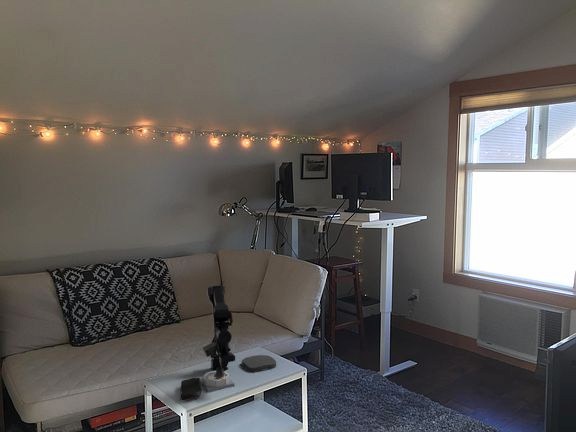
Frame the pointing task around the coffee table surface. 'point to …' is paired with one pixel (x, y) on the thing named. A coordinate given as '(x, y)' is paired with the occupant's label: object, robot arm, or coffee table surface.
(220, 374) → the dial
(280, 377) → the coffee table surface
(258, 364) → the media streaming box
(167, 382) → the coffee table surface
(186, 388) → the black sponge
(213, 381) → the dial panel
